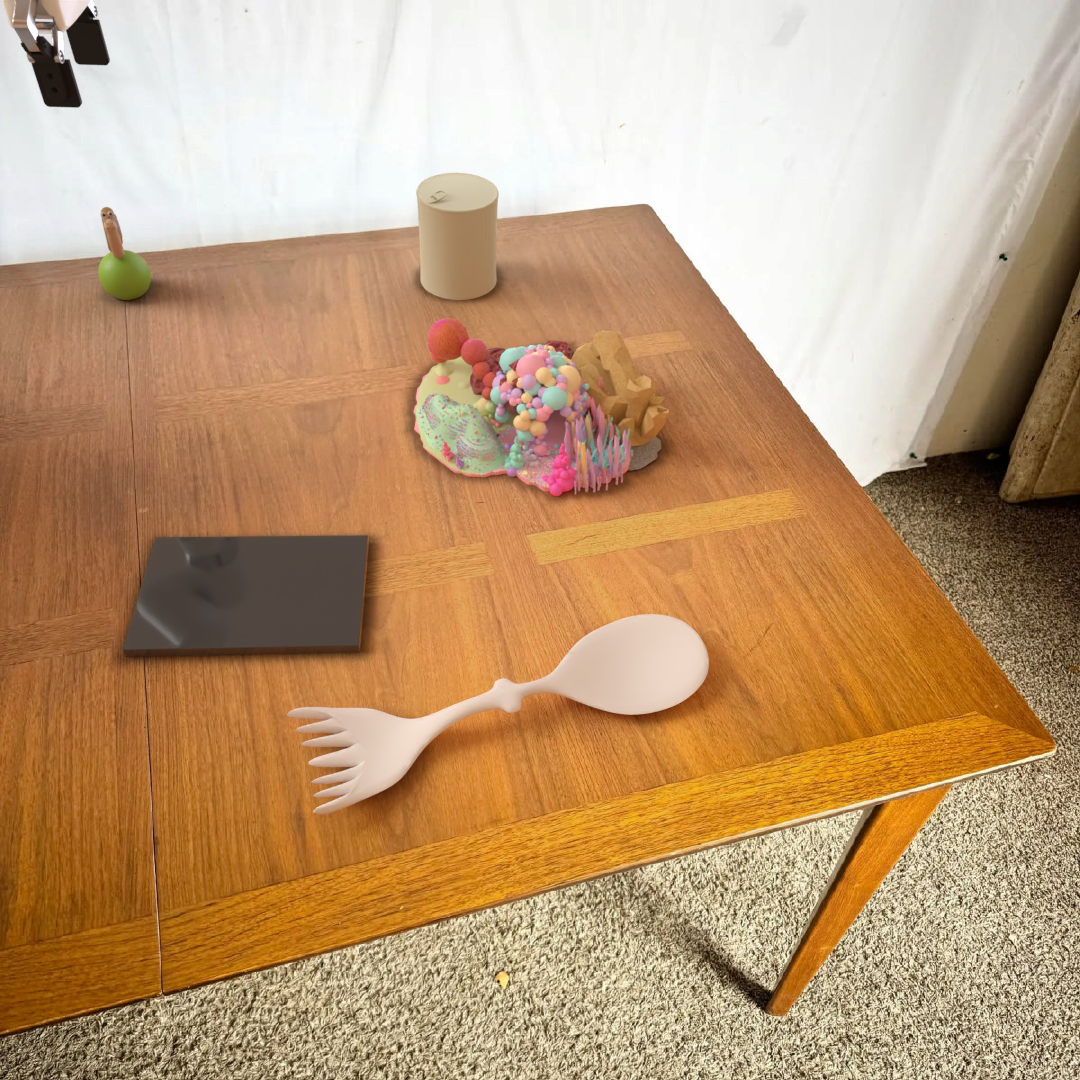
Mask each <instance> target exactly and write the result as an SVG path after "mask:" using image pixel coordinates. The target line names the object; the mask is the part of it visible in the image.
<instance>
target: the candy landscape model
mask: <svg viewBox="0 0 1080 1080" xmlns="http://www.w3.org/2000/svg"><path fill="white" fill-rule="evenodd" d="M427 346H428V350H429V353H430V356H431V359H432V360H433V361H434V362H435V363H437V364H436V365H434V366H432V367H431V368H430V370H429V372H428V373H426V374H425V375H423V376H422V378H421V383H420V385H419V386H418V387H417V388H416V393H415V401H416V404H415V405H414V406H413V407H414V408H413V415H414V416H415V422H414V427H413V428H414V429H413V430H414V431H415V432H416V433H417V434H418V435H419V436H420V438H419V439H420V441H421V443H422V447H423V449H424V450H425V451H426V452H427V453H428V454H430V456H432V457H433V458H435V459H436V460H438V461H439V462H440V463H442V465H444V466H445V467H446V468H448V470H450V471H452V472H453V473H455V474H458V475H460V474H461V475H464V476H466V477H468V478H469V477H470V478H472V477H474V478H487V477H490V476H500V475H503V474H504V475H507V476H508V477H510V478H515V477H516V478H518V479H519V480H520V481H522V482H523V483H524V484H526V485H528V486H535V487H537V488H538V489H540V490H541V491H542V492H549V493H550V495H551V496H553V497H559V496H561V495H562V494H563V493H565V492H569V491H571V490H573V489H574V495H577V492H580V491H581V488H582V489H584V492H585V493H588V492H589V487H590V488H591V489H592V493H596V492H599V491H600V488H601V487H602V485H604V484H605V491H608V489H609V483H610V484H611V482H612V480H613V479H615V485H616V486H618V485H619V478H620V483H621V484H622V483H624V482H623V481H624V474H625V473H627V472H628V471H635V470H641V469H643V468H645V467H646V466H648V465H649V464H651V463H652V462H654V461H655V460H657V459H658V457H659V456H658V453H659V452H660V450H662V440H661V439H659V438H658V436H657V435H658V434H659V433H660V431H661V430H662V429H663V428H664V426H665V424H666V421H667V418H668V415H669V412H670V409H668V408H666V407H665V406H663V405H664V403H665V399H666V396H662V395H661V396H660V395H657V394H656V393H657V390H658V386H659V385H657V384H656V383H655V382H654V381H653V380H652V378H650V377H648V376H646V375H645V374H643V375H642V371H641V370H640V368H639V366H638V365H637V364H633V358H632V356H631V354H630V352H629V349H628V347H627V345H626V342H625V341H624V338H623V337H622V335H621V334H619V333H618V332H617V331H612V330H599V331H597V332H596V333H595V334H594V336H593V339H592V342H587V343H585V344H583V345H580V346H578V347H577V348H576V349H575V351H574V350H573V349H572V348H570V344H569V343H568V342H567V341H559V340H547V342H546V343H544V344H542V343H539V344H537V345H536V344H530V345H528V346H524V345H523V346H521V345H520V346H518V347H509V348H506V349H505V348H501V347H494V348H488V347H487V345H486V344H485V343H484V342H483V340H482V339H479V338H475V337H474V338H470V336H469V332H468V330H467V327H466V326H465V325H464V324H463V323H462V322H461V321H459V320H458V319H456V318H452V317H445V318H441V319H438V320H437V321H435V322H434V323H433V324H432V325H431V327H430V328H429V331H428V333H427ZM596 483H597V484H596ZM596 485H597V487H596Z"/></svg>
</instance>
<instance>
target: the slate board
mask: <svg viewBox="0 0 1080 1080" xmlns="http://www.w3.org/2000/svg"><path fill="white" fill-rule="evenodd" d="M369 548H370V539H369V535H368V534H352V535H351V534H347V535H346V534H344V535H343V534H342V535H341V534H340V535H339V534H337V535H335V534H333V535H248V536H246V535H244V536H243V535H241V536H240V535H239V536H231V535H230V536H155V538H154V541H153V544H152V548H151V550H150V551H151V552H150V554H149V558H148V561H147V565H146V569H145V571H144V576H143V579H142V582H141V585H140V589H139V593H138V594H137V595H138V596H137V599H136V602H135V606H134V610H133V613H132V617H131V620H130V623H129V625H128V629H127V633H126V637H125V640H124V644H123V647H122V652H123V654H124V656H125V658H133V657H134V658H140V657H141V658H144V657H145V658H146V657H149V658H150V657H151V658H152V657H195V656H196V657H197V656H198V657H199V656H244V655H245V656H247V655H250V656H252V655H296V654H297V655H300V654H302V655H303V654H347V653H348V654H352V653H353V654H354V653H356V654H357V653H361V645H362V644H361V643H362V632H363V621H364V620H363V619H364V609H365V596H366V585H367V584H366V583H367V582H366V581H367V572H368V571H367V570H368V561H369V559H368V558H369Z"/></svg>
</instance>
